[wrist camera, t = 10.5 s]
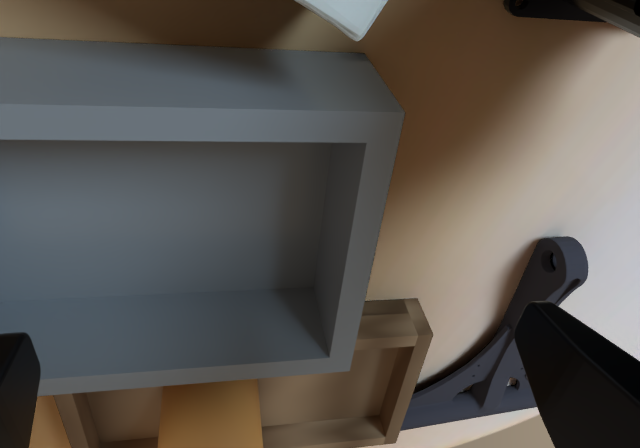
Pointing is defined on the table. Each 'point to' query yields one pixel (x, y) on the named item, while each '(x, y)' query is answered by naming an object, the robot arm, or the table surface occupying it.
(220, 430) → the tan cylinder
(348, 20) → the skincare box
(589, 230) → the table surface
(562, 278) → the bracket
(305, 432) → the walnut tray
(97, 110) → the grey storage bin
